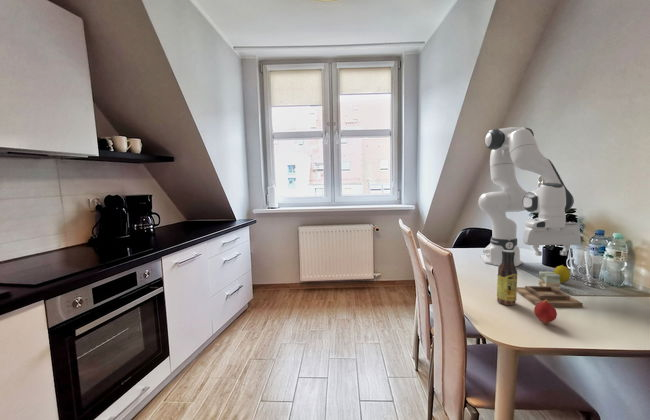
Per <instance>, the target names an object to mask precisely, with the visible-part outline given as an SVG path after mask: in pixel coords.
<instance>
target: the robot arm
mask: <svg viewBox="0 0 650 420" xmlns="http://www.w3.org/2000/svg"><path fill="white" fill-rule="evenodd" d="M484 145H485V147H486V148H487V149H488V150H491V151H490V154H489V155H490V158H489V169H490V171H489V173H490V179H491V180H490V181H491V182H492V183H493V184H494V185H496V186H497V187H500V188H501V191H489V192H486V193H485V192H484V193H482V194H481V195H480V196H479V198H478V201H477V203H478V207H479V209H480V210H481V211H483V212H484V213H485V214H486V215H487V216H488V217H489V220H490V222H491V228H492V229H491V231H492V236H491V237H490V241H489V242H490V243H489V244H488V245H487V246H485V248H484V249H483V254H480V256H481V257H480V256H479V257H480V258H481V260H482V261H483V262H484V264H488V265H494V266H497V267H499V266H500V264H501V263H502V250H512V251H514V252H515V255H514V265H515V267H519V265H521V264H522V265H523V263H524V262H523V261H522V260H521V254H520V253H521V249H520V248H519V247H518V238H517V230H518V229H517V228H518V227H517V223H516V222H515V220H512V219H511V218H508V217H507V215H506V213H515V212H516V213H517V212H523V211H527V212H529V213H534V214H536V213H537V214H538V215H537V216H538V217H536V218H533V219H530V220H526V221H525V223H524V224H525V226H526V227H525V228H524V229H523V234H522V241H523V243H524V245H527V246H532V248H533V250H534V252H535V256H537V257H538V256H539V257H541V256H542V255H543V251H541V250H540V249H539V248H540V246H562V247H563V248H562V250H559V255H560V256H568V251H569V250H570V248H571V246H572V245H573V246H574V245H575V246H577V245H579V244H581V243H582V241H581V239H582V238H581V232H580V227H581V226H580V224H579V223H578V222H575V221H567V219H566V218H567V217H566V216H567V214H566V213H567V212H568V211H569V210H571V208H572V207H573V205H574V203H575V200H574V196H573V194H572V193H571V191H570V190H568V188H567V186H566V185H565V184H564V181H563V180H562V177H561V175H560V174H559V172H558V170H557V169H556V167H555V165H554V164H553V162H552V161H551V160H550V159H548V158H547V157H546V156H545V155H544V154H543V153H542V152H541V151H540V149H539V146H538V143H537V141H536V139H535V133H534V130H533V129H531V128H530V127H526V126H525V127H523V126H521V127H518V126H517V127H516V126H515V127H514V126H513V127H511V126H510V127H504V128H503V127H502V128H494V129H493V128H492V129H490V130H488V132H487V133H486V134H485V136H484ZM515 167H516V168H518V169H520V170H523V171H529V172H532V173H534V174H537V175H539V176H540V177H541V178H542V179H543V180H544V182H545V183H542V184H540V186H539V187H537V189H534V190H531V191H526V190H525V189H523V187H522V186H521V185H520V184H519V181H518V180H517V177H516V171H515Z"/></svg>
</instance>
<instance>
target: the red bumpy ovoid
mask: <svg viewBox="0 0 650 420" xmlns="http://www.w3.org/2000/svg"><path fill="white" fill-rule="evenodd" d="M533 313H534V315H535V318H537V319H538V320H539V321H540V322H541V323H542V324H545V325H546V324H547V325H548V324H549V323H551V322H553V321H555V320H556V319H557V316H558V312H557V310H556V307H553V306H552V305H551V304H550V303H548V300H545V301H542V302H540V303H538V304H537V305H536V306H535V305H534V308H533Z"/></svg>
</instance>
